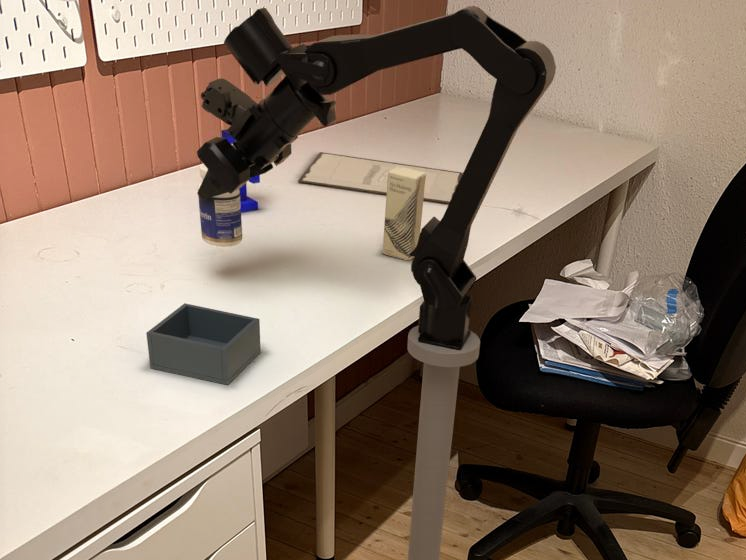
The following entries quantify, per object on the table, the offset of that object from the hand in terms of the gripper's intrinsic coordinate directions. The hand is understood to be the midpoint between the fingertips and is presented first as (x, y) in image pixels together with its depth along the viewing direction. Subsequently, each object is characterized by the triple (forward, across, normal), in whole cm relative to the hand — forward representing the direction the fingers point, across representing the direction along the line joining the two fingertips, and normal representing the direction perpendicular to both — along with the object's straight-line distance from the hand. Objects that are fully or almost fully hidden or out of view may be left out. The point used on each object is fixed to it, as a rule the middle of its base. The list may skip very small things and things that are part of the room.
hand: (209, 190), depth 133 cm
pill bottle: (+4, 0, +6) cm, 7 cm away
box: (-6, -25, +24) cm, 35 cm away
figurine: (+16, -31, +2) cm, 35 cm away
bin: (+1, +25, +16) cm, 30 cm away
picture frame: (+5, -64, +13) cm, 65 cm away
